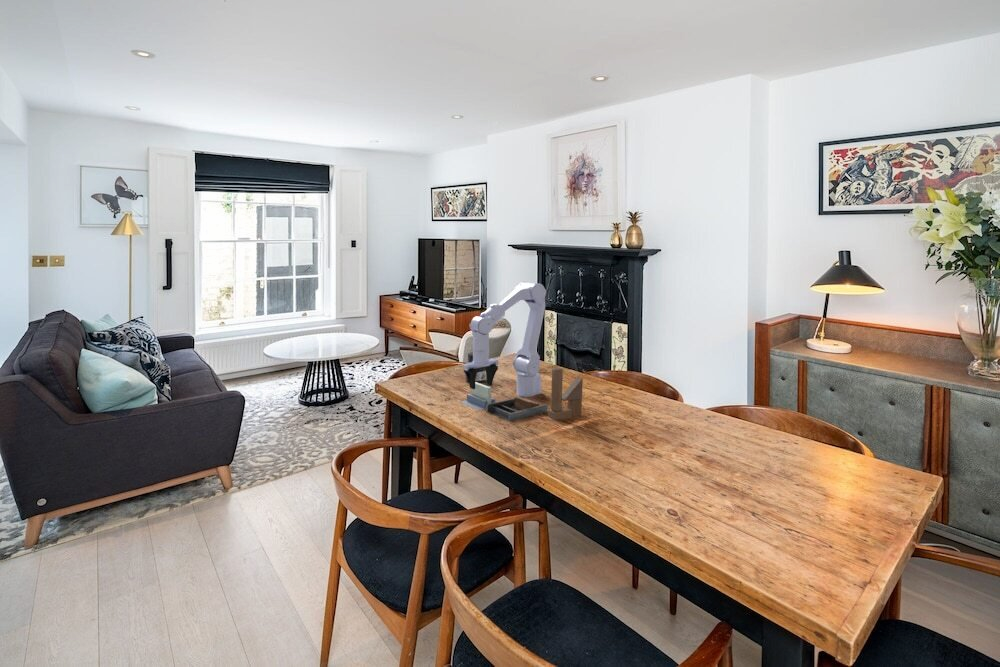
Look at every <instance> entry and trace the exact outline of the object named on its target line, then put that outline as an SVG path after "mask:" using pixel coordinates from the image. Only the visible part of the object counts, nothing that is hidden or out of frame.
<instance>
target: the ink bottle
mask: <svg viewBox="0 0 1000 667" xmlns="http://www.w3.org/2000/svg"><path fill="white" fill-rule="evenodd" d="M470 362H473V351H471V352H468V353H467V363H470ZM474 371H477V374H476V380H475V382H477V383H480V384H483V383H485V382H487V378H486V369H485V367H480V368H475V369H474ZM465 381H466V383H469V381H468V379H467V376H466V375H465Z"/></svg>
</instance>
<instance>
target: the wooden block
mask: <svg viewBox="0 0 1000 667" xmlns="http://www.w3.org/2000/svg"><path fill="white" fill-rule="evenodd" d="M563 370H564V369H563V368H561V367H553V368H551V398H550V402H551V403H550V409H548V417H549V419H551V420H552V421H558V420H565V419H571V418H580V417H582V402H583V400H582V399H583V380H584V379H583V378H582V377H580V376H576V377H575V378H574V379H573V381H572V382H571V383H570V384H569V386H568V387H567V388H566V389H565V390H564V391H563V377H564V376H563V374H564V371H563ZM566 401H567V408H566V407H563V402H566Z"/></svg>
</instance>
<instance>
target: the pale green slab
mask: <svg viewBox="0 0 1000 667" xmlns="http://www.w3.org/2000/svg"><path fill="white" fill-rule="evenodd" d="M470 389H471V388H470ZM470 393H471V394H470V395H473V396H475V397H478V398H480V399H483V400H486V401H487V404H491V398H492V387H491V386H489V385H487V384H486V385H485V384H483V383H477V382H475V389H471V392H470Z"/></svg>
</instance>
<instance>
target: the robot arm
mask: <svg viewBox="0 0 1000 667" xmlns="http://www.w3.org/2000/svg"><path fill="white" fill-rule="evenodd" d="M546 296H547V290H546V288H545V286H544V285H543V284H542V283H538V282H537V283H535V282H528V281H521V282H520V283H519V284H518V285H515V288H514V290H512V291H511V292H510V293H509V294H508V295H507V296H506V297H505V298H503V300H502V301H500V302H499V303H492V304H490V305H489V307H488V309H486V310H485V311H484V312H481V313H480V315H479V316H477V315H476V316H474V317H473V318H472V319H471V321H470V323H469V329H470V330H471V333H472V334H471V335H472V352H473V362H470V363H469V362H467V363H463V364H462V370H463V373H464V374H465V377H466V376H467V379H468V381H469V382H468V384H469V388H470V389H475V380H476V374H477V371H474V369H475V368H480V367H485V369H486V386H489V387H491V386H492V385H493V381H494V378H495V375H496V373H497V371H498V370H499V359H497V358H490V333H491V331H492V330H493V328H494V325H495V324H496V323H498V322H499V321H500V320H501V319H503V317H505V315H506V311H508V310H509V309H510V308H511V307H513V306H514V305H516V304H518V303H519V302H520V301H524V302H525V303H526V304H527V305H528V307H529V314H528V318H527V322H526V328H525V332H524V337H523V342H522V347H521V348H520V349H518V350H517V351H516V356H515V357H514V359H513V361H512V367H513V369H514V371H515V373H516V395H517V397H520V396H525V398H526V397H527V398H529V397H530V398H531V397H534V396H536V395H540V394H542V381H543V380H542V376H541V374H540V373H538V372H539V370H540V367H541V363H540V359H541V356H540V354H539V353H538V351H537V349H538V345H539V344H538V343H539V338H540V335H541V329H542V325H543V319H544V314H545V311H546Z"/></svg>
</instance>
